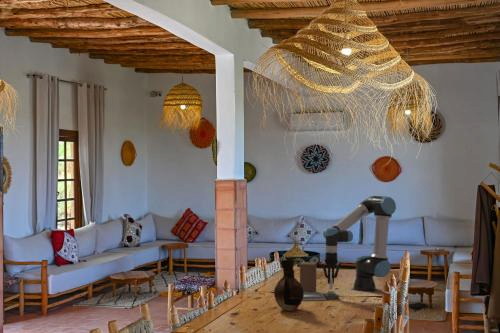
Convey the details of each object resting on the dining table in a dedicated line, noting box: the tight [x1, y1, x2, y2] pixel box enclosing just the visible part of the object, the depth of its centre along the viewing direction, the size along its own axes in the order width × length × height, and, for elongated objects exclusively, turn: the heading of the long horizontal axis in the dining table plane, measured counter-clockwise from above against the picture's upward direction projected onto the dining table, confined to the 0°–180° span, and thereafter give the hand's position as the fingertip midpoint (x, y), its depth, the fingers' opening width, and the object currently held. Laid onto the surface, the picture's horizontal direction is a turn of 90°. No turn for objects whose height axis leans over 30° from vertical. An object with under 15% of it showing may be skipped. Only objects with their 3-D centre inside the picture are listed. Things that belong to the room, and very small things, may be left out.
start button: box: [327, 290, 335, 295], centre depth 444 cm, size 4×4×2 cm
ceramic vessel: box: [273, 258, 304, 312], centre depth 408 cm, size 21×18×30 cm
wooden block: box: [299, 261, 318, 292], centre depth 461 cm, size 10×10×20 cm
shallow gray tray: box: [302, 291, 327, 302], centre depth 444 cm, size 16×14×2 cm
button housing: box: [322, 292, 340, 300], centre depth 444 cm, size 8×8×2 cm
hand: (330, 288), depth 444 cm, fingers closed
